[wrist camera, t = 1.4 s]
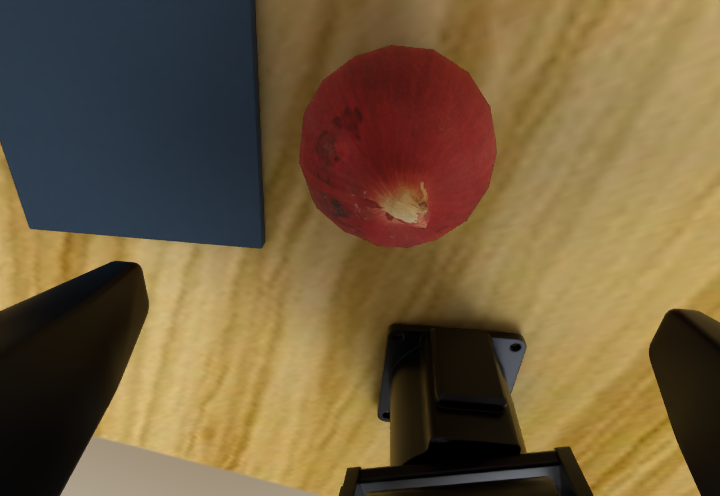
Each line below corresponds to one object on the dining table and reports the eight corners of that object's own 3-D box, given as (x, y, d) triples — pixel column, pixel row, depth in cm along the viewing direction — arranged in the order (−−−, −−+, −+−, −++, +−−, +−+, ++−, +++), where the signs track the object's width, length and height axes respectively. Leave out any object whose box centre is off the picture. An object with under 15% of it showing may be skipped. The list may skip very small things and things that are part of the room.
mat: (265, 242, 21) (262, 249, 20) (37, 222, 21) (29, 229, 21) (238, -403, 12) (231, -419, 11) (-175, -433, 12) (-201, -450, 11)
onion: (343, 201, 20) (319, 333, 13) (293, 58, 17) (229, 131, 10) (486, 165, 19) (542, 288, 12) (458, 6, 16) (510, 47, 9)
